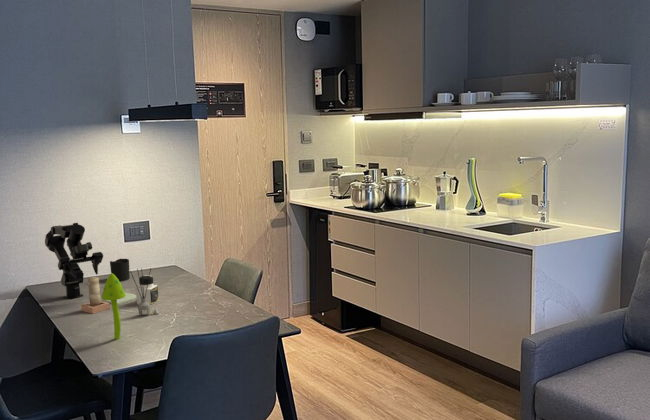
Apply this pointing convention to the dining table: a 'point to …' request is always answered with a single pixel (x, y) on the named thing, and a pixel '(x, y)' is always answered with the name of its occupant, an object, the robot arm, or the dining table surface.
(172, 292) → the dining table surface
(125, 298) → the sage board
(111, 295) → the mushroom
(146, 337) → the dining table surface
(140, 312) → the reed diffuser
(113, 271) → the pen holder
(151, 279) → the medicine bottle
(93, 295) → the beige ribbed peg
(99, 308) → the terracotta socket
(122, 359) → the dining table surface
